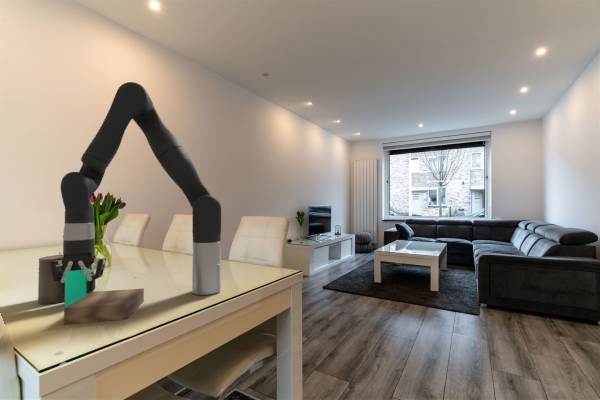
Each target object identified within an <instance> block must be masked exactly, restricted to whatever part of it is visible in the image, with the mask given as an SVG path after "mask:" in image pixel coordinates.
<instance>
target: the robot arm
mask: <svg viewBox="0 0 600 400" xmlns="http://www.w3.org/2000/svg"><path fill="white" fill-rule="evenodd" d="M132 120H133V121H134V122H135V124H136V125H137V126H138V128H139V129H140V130H141V132H142V133H143V134H144V136H145V138H146V140H147V143H148V145H149V147H150V149H151V152H152V154H153V155H154V157H155V158H156V160H157V161H158V163H159V164H160V166H161V167H162V168H163V170H164V172H166V174H167V176H169V178H170V179H171V180H172V181H173V182H174V183H175V184H176V186H177V187H178V188H179V189H180V190H181V191H182V193H183V194H184V196H185V197H186V199H187V201H188V202H189V205H190V206H191V208H192V233H191V234H192V269H191V270H192V274H191V275H192V277H191V278H192V279H191V280H192V281H191V282H192V285H191V288H192V289H191V291H192V294H193V295H197V296H206V295H213V294H219V293H221V282H222V281H221V279H222V277H221V276H222V275H221V272H222V267H221V265H222V263H221V249H222V248H221V245H222V243H221V241H222V240H221V239H222V238H221V237H222V235H221V234H222V205H221V203H220V200H218V198H217V197H215V196H213V195H212V193H211V192H210V191H209V190H208V188H207V187H206V186H205V184H204V183H203V181H202V180H201V178H200V176H199V174H198V171H197V169H196V167H195V166H194V165H195V164H194V163H193V161H192V159H191V158H190V156H189V155H188V152H187V151H186V150H185V148H184V147H183V145H182V144H181V143H180V141H179V139H178V138H177V137H176V136H175V135H174V133H172V131H170V129H169V128H168V127H167V126H166V125H165V124H164V122H163V120H162V118H161V116H160V115H159V113H158V111H157V109H156V107H155V105H154V102H153V101H152V98H151V96H150V95H149V93H148V91H147V90H146V88H145V87H144V86H143V85H142V84H140V83H137V82H134V81H129V82H127V81H126V82H124V83H122V84H121V85H119V87H118V88H117V90H116V92H115V95H114V97H113V100H112V103H111V105H110V107H109V109H108V111H107V114H106V116H105V118H104V120H103V122H102V124H101V126H100V128H99V129H98V131H97V133H96V134H95V136H94V137H93V139H92V140H91V142H90V144H89V145H88V146H87V148H86V149H85V151H84V152H83V154H82V156H81V158H80V161H81V163H82V165H81V167H80V169H79V170H78V171H71V172H68V173H66V174H65V175H64V176H63V177H62V178H61V182H60V194H61V199H62V202H63V206H64V228H63V235H62V238H63V239H62V240H63V242H62V254H63V255H64V256H63V258H62V260H55V261H52V262H51V263H50V265H51V270H52V275H53V279H54V281H60V282H61V283H62V293H64V295H65V271H67V270H72V271H76V270H84V275H86V277H87V279H88V282H87V294H88V293H91V292H95V289H96V280H97V279H99V278H101V277H103V276H104V275H103V274H104V272H105V271H104V270H105V266H106V262H107V257H102V258H100V257H96V255H95V249H96V248H95V247H96V246H95V243H96V241H95V239H96V238H95V235H96V230H95V209H94V206H93V205H92V204H91V203H90V202H91V201H90V196H91V195H93V194H94V193H95V192H96V191H97V190H98V189H99V187H100V185H101V183H102V181H103V178H104V177H105V173H106V169H107V168H108V167H109V165H110V164H111V162H112V160H113V159H114V157H115V156H116V154H117V152H118V151H119V148H120V146H121V143H122V140H123V137H124V135H125V132H126V129H127V128H128V126H129V124H130V122H131V121H132ZM62 263H63V264H64V265H65V267H66V269H65V271H64V273H63V274H62V269H61V266H62ZM94 263H95V265H96V269H94V268H93V264H94ZM89 268H90V270H88V269H89Z"/></svg>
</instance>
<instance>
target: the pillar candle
mask: <svg viewBox="0 0 600 400" xmlns="http://www.w3.org/2000/svg"><path fill="white" fill-rule="evenodd" d="M63 256H64V255H63V253H61V252H59V254H55V255H47V256H42V257H39V258H38V282H37V283H38V284H37V286H38V293H37V295H38V297H37V302H38V304H39V305H50V304H51V305H53V304H58V303H59V304H60V303H65V295H64V293H62V283H61V282H60V281H54V279H53V275H52V270H51V265H50V263H51V262H52V261H55V260H62V258H63ZM61 269H62V274H63V273H64V271H65V269H66V267H65V265H64V264H63V263H62V266H61Z"/></svg>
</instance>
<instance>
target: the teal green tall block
mask: <svg viewBox="0 0 600 400" xmlns="http://www.w3.org/2000/svg"><path fill="white" fill-rule="evenodd" d="M88 270H90V268H89V269H88ZM87 282H88V279H87V277H86V275H84V270H76V271H72V270H67V271H65V302H64V307H65V308H66V307H67V306H69V305H71V304H72V303H74V302H76V301H77V300H79V299H81V298H82V297H84V296H86V295H87ZM88 294H89V293H88Z"/></svg>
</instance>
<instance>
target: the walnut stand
mask: <svg viewBox="0 0 600 400" xmlns="http://www.w3.org/2000/svg"><path fill="white" fill-rule="evenodd" d="M144 297H145V289H144V288H131V289H128V288H127V289H117V290H116V289H114V290H100V291H99V290H98V291H97V290H96V291H93V292H91V293H89V294H87V295H86V296H84V297H82V298H81V299H79V300H77V301H76V302H74V303H72V304H71V305H69V306H67V307H66V306H65V307H64V309H63V325H73V324H74V325H75V324H84V323H85V324H87V323H94V322H95V323H97V322H99V323H100V322H109V321H119V320H120V321H121V320H127V319H129V318H130V316H132V314H133V313H134V312H135V311H136V310H138V308H139V307H140V306H141V305H142V304H143V303H144V301H145V299H144Z"/></svg>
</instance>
